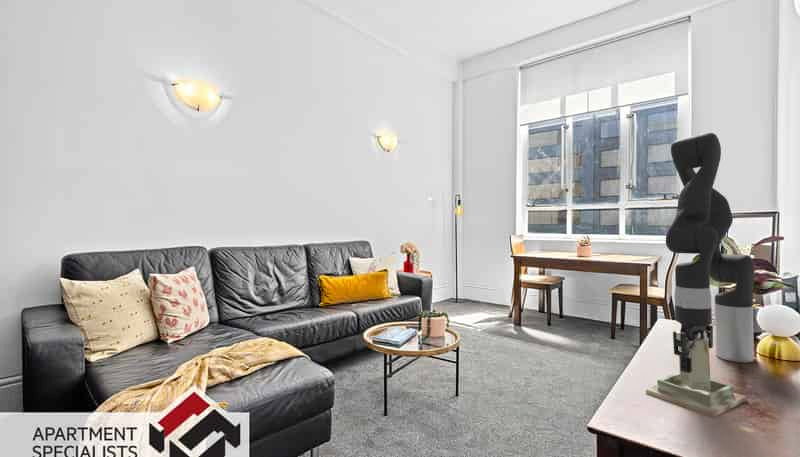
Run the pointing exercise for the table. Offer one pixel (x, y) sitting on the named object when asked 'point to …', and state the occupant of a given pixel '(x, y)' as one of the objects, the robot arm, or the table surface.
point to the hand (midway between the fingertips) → (694, 368)
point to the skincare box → (698, 367)
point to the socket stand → (697, 395)
